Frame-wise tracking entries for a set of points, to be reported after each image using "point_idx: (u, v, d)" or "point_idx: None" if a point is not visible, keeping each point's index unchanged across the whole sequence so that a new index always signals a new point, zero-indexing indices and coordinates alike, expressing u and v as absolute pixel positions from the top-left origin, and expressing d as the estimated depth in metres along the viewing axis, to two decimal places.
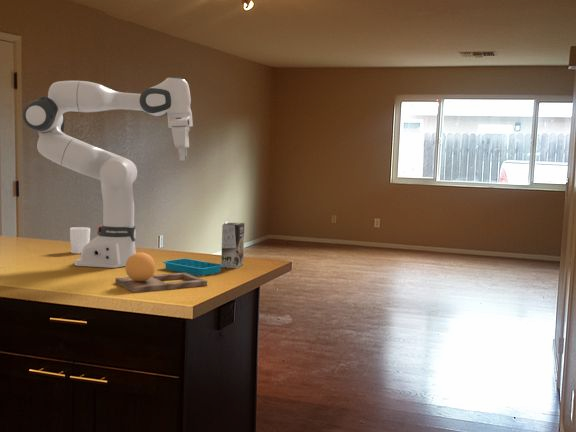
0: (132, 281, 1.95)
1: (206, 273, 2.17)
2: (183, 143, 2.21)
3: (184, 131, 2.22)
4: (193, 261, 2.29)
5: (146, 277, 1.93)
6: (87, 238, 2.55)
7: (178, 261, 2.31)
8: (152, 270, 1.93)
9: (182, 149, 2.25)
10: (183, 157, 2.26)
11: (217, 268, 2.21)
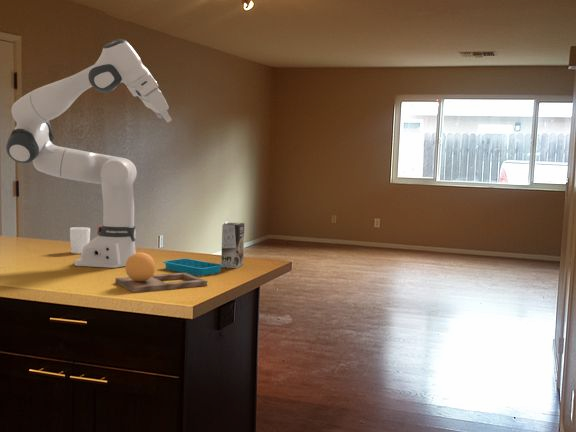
0: (132, 281, 1.95)
1: (206, 273, 2.17)
2: (166, 105, 2.02)
3: (160, 93, 2.01)
4: (193, 261, 2.29)
5: (146, 277, 1.93)
6: (87, 238, 2.55)
7: (178, 261, 2.31)
8: (152, 270, 1.93)
9: (165, 111, 2.06)
10: (169, 118, 2.08)
11: (217, 268, 2.21)
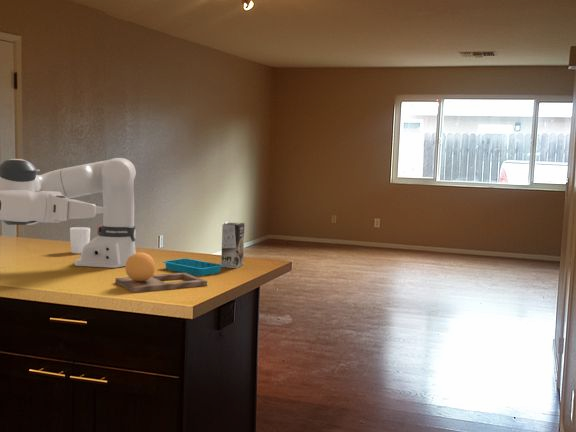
0: (132, 281, 1.95)
1: (206, 273, 2.17)
2: (92, 206, 1.75)
3: (76, 203, 1.73)
4: (193, 261, 2.29)
5: (146, 277, 1.93)
6: (87, 238, 2.55)
7: (178, 261, 2.31)
8: (152, 270, 1.93)
9: (95, 208, 1.79)
10: (104, 208, 1.81)
11: (217, 268, 2.21)
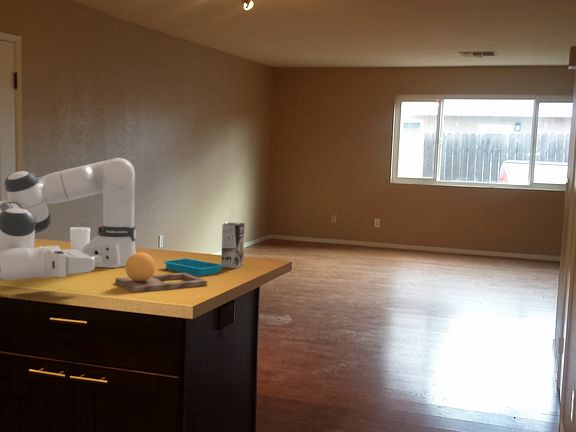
0: (132, 281, 1.95)
1: (205, 273, 2.17)
2: (91, 260, 1.76)
3: (75, 258, 1.74)
4: (193, 261, 2.29)
5: (146, 277, 1.93)
6: (87, 238, 2.55)
7: (179, 261, 2.31)
8: (152, 270, 1.93)
9: None
10: (98, 257, 1.86)
11: (217, 268, 2.21)
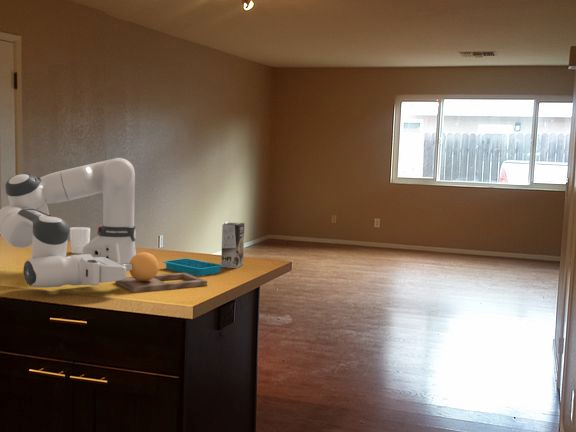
0: (132, 281, 1.95)
1: (205, 273, 2.17)
2: (123, 268, 1.81)
3: (108, 267, 1.79)
4: (194, 261, 2.29)
5: (147, 277, 1.93)
6: (87, 238, 2.55)
7: (179, 261, 2.31)
8: (155, 272, 1.94)
9: None
10: (128, 265, 1.90)
11: (216, 268, 2.21)
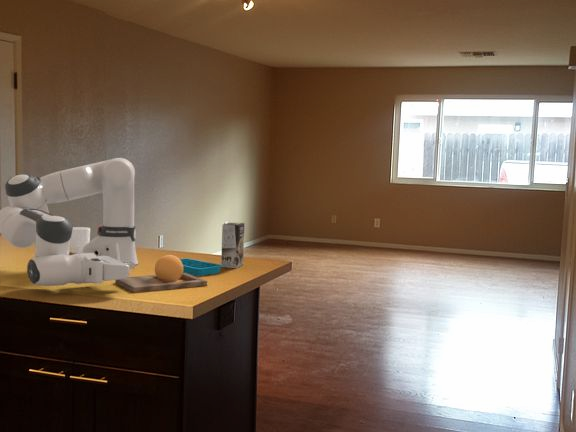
0: (132, 281, 1.95)
1: (205, 273, 2.17)
2: (126, 267, 1.82)
3: (111, 265, 1.80)
4: (194, 261, 2.29)
5: (166, 264, 1.97)
6: (87, 238, 2.55)
7: None
8: (167, 273, 1.97)
9: None
10: (131, 264, 1.92)
11: (216, 268, 2.21)
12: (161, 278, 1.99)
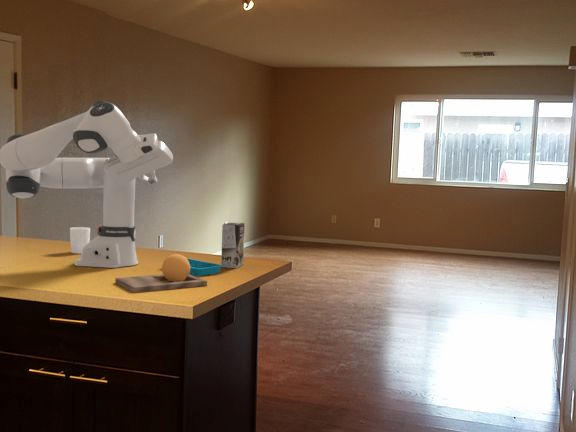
0: (132, 281, 1.95)
1: (204, 273, 2.17)
2: (172, 154, 1.96)
3: None
4: (194, 261, 2.29)
5: (177, 259, 2.00)
6: (87, 238, 2.55)
7: None
8: (175, 266, 1.99)
9: None
10: (155, 177, 2.00)
11: (216, 268, 2.21)
12: (166, 270, 2.00)
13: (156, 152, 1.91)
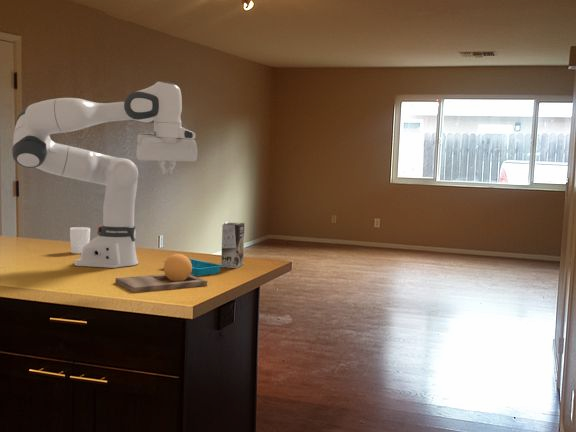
0: (132, 281, 1.95)
1: (204, 273, 2.17)
2: None
3: None
4: (194, 261, 2.29)
5: (181, 258, 2.02)
6: (87, 238, 2.55)
7: None
8: (177, 264, 2.00)
9: None
10: None
11: (216, 268, 2.21)
12: (168, 267, 2.00)
13: (191, 143, 2.09)
